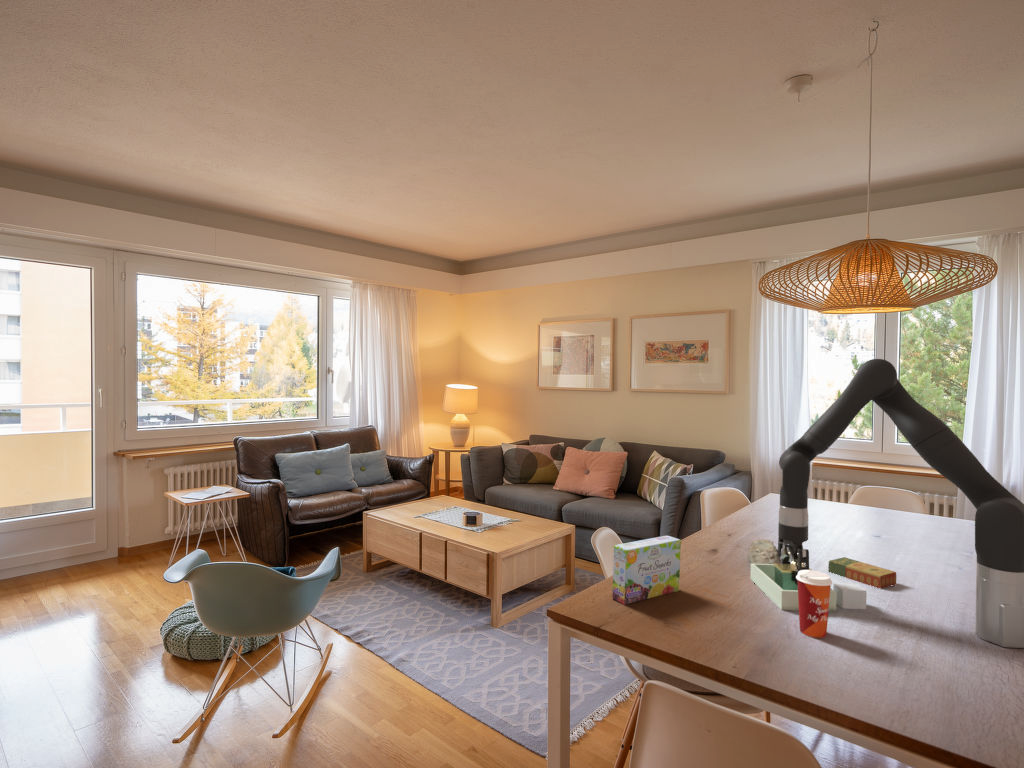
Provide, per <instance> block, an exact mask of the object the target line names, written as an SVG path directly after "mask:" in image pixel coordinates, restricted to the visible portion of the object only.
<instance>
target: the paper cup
mask: <svg viewBox="0 0 1024 768" xmlns="http://www.w3.org/2000/svg"><path fill="white" fill-rule="evenodd" d="M796 579H797V582H798V604H799V610H798V619H799V624H798V625H799V631H800V633H802V634H803V635H805V636H808V637H811V638H817V639H823V638H826V637H827V633H828V632H827V631H828V623H829V620H828V619H829V599H830V588H831V585H832V584H833V581H832V579H831V576H829V574H827V573H824V572H821V571H818V570H812V569H811V570H800V571H799V572H798V575H797V576H796Z"/></svg>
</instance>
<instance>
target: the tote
mask: <svg viewBox="0 0 1024 768" xmlns="http://www.w3.org/2000/svg"><path fill="white" fill-rule="evenodd" d="M750 579H751V580H752V581H753V582H754V583H755V584H756V585H757V586H758V587H759V588H760V589H761V590H762V591H763V592H764V593H765V594H764V593H763V592H762V591H761V590H760V589H759V588H758V587H757V586H756V585H755V584H754V583H753V582H752V581H751V580H750ZM750 579H749V580H750V581H751V582H752V583H753V584H754V585H755V586H756V587H757V588H758V589H759V590H760V591H761V592H762V593H763V594H764V595H765V596H767V597H768V599H770V600H771V601H772V602H773V603H774V604H775V605H776V606H777V608H779V609H780V610H782V611H799V604H798V590H783V589H782V588H781V587H780V586H779V585H777V584H776V583H775V582H774V579H775V566H774V564H750ZM836 597H837V593H836V592H835V591H834V590H833V588H831V587H830V599H829V611H828V613H829V612H834V613H837V603H836Z"/></svg>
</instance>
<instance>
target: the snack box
mask: <svg viewBox="0 0 1024 768" xmlns="http://www.w3.org/2000/svg"><path fill="white" fill-rule="evenodd" d="M681 544H682V540H681V539H679V538H677V537H674V536H670V535H663V536H662V535H660V536H657V537H651V538H646V539H640V540H635V541H631V542H626V543H625V542H624V543H619V544H618V543H617V544H615V545H613V567H612V570H613V571H612V572H613V573H612V599H613V600H616V601H617V602H619V603H620V604H622V605H624V606H625V605H629V604H632V603H636V602H640V601H644V600H648V599H651V598H655V597H656V598H657V597H659V596H663V595H668V594H672V593H675V592H679V591H680V574H681V573H680V572H681V551H682V549H681V548H682V547H681V546H682V545H681Z"/></svg>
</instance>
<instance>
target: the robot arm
mask: <svg viewBox="0 0 1024 768" xmlns="http://www.w3.org/2000/svg"><path fill="white" fill-rule="evenodd" d="M871 401H872V402H873V403H875V404H876V405H877V406H878V407H879V408H880V409H881V410H882V411H883V412H884V413H885V414H886V415H887V416H888V417H889V418H890V419H891V421H892V422H893V424H894V425H895V427H896V428H897V429H898V431H899V432H900V433H901V434H902V436H903V437H904V438H905V440H906V441H907V442H908V443H909V445H910V446H911V447H912V448H913V450H915V452H917V454H918V455H919V456H920V457H921V458H922V459H923V460H924V462H926V463H927V465H929V466H930V467H931V468H932V469H933V470H935V472H937V473H939V474H940V475H941V476H943V477H944V478H945V479H946V480H948V481H949V482H950V483H952V484H953V485H955V487H957V488H958V489H959V490H960V491H961V492H962V493H963V494H964V496H966V498H967V499H968V500H969V502H971V504H972V505H973V507H974V508H975V509H976V511H975V514H974V515H975V517H974V548H975V554H976V569H975V570H976V572H975V574H976V576H975V577H976V578H975V585H976V586H975V625H974V626H975V627H974V629H975V631H974V632H975V635H976V636H978V638H980V639H982V640H984V641H986V642H989V643H992V644H995V645H998V646H1000V647H1002V648H1016V649H1017V648H1018V649H1019V648H1021V649H1024V503H1023V502H1022V501H1021V500H1019V498H1018V497H1016V496H1015V495H1014V494H1013V493H1011V492H1010V491H1009V490H1008V489H1006V487H1004V485H1002V484H1001V483H1000V482H999V481H998V480H997V479H996V478H995V477H993V476H992V474H990V473H989V471H987V469H986V468H985V467H984V466H983V463H981V462H980V461H979V459H978V458H977V457H976V456H975V455H974V454H973V452H972V451H971V450H970V449H969V448H968V447H967V445H965V443H964V442H963V440H961V439H960V438H959V436H958V435H957V434H956V433H955V432H954V431H953V430H952V429H951V428H950V427H949V426H948V425H947V424H946V423H945V422H944V421H943V420H942V419H940V418H939V417H938V416H936V414H935V415H934V413H932V412H931V411H930V410H929V409H927V408H926V407H924V406H923V405H921V404H920V403H919V402H917V400H915V399H914V397H912V396H911V394H910V393H909V391H908V390H906V388H905V387H904V386H903V384H902V383H901V382H900V380H899V379H898V373H897V369H896V367H895V366H894V365H893V363H892V362H890V361H888V360H886V359H883V358H872V359H869V360H867V361H865V362H863V363H862V364H861V365H860V366H859V367H858V370H857V372H856V373H855V374H854V376H853V377H852V379H851V380H850V382H849V383H848V385H847V386H846V388H845V389H844V390H843V392H842V393H840V395H839V396H838V397H837V399H835V401H834V402H833V403H832V404H831V405H830V406H829V407H828V408H827V409H826V410H825V411H824V412H823V413H822V414H821V415H820V416H819V417H818V418H817V420H815V422H814V423H813V424H812V425H810V426H809V428H808V429H807V430H806V431H805V432H804V434H803V435H802V436H800V438H799V439H797V440H796V441H795V442H794V443H792V444H791V445H790V446H788V447H787V449H786V450H784V452H783V453H781V455H780V457H779V461H778V465H779V468H780V470H781V471H782V472H781V473H782V480H781V481H782V483H781V487H780V489H779V509H778V531H777V532H778V534H777V535H778V540H777V542H778V543H777V553H778V556H779V557H780V561H781V564H794V568H795V584H796V585H798V582H797V579H796V576H797V575H798V572H799V571H800V570H809V568H810V551H809V549H805V548H804V547H803V544H804V542H805V543H806V542H807V541H809V509H808V507H809V506H808V505H809V504H808V503H809V502H808V501H809V500H808V498H809V497H808V496H809V495H808V489H809V483H810V477H811V464H810V463H812V461H813V460H814V459H815V458H816V457H817V456H819V455H822V454H824V453H825V452H827V450H828V449H829V448H830V447H831V446H832V445H833V444H834V443H835V442H836V441H837V440H838V439H839V438H840V437H841V436H842V434H843V433H844V432H845V431H846V430H847V428H848V427H849V426H850V424H851V423H852V422H853V420H854V419H855V418H856V416H857V415H858V414H859V413H860V412H861V411H862V410H863V409H864V408H865V407H866V406H867V405H868V404H869V403H870V402H871ZM797 564H798V565H797Z"/></svg>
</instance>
